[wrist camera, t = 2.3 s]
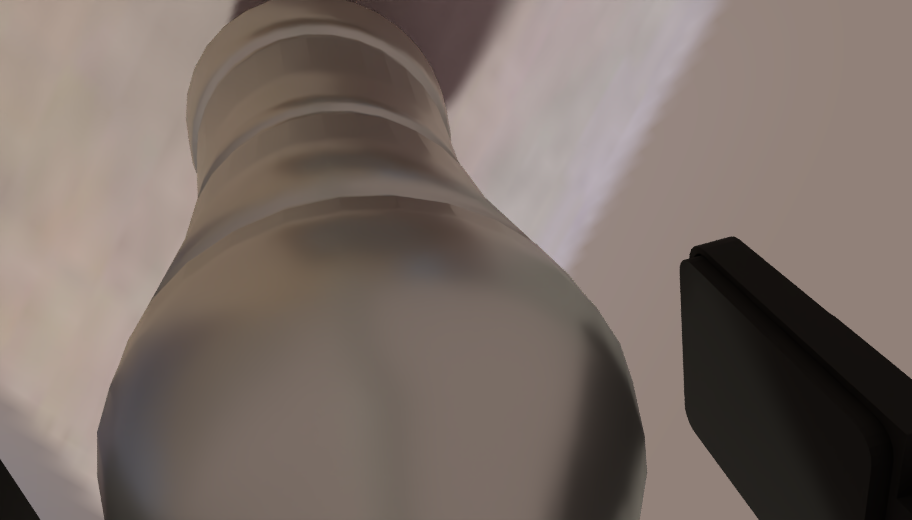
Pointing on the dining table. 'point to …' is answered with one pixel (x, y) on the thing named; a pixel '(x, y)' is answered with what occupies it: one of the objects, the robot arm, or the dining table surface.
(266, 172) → the plastic bottle
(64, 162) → the dining table surface
